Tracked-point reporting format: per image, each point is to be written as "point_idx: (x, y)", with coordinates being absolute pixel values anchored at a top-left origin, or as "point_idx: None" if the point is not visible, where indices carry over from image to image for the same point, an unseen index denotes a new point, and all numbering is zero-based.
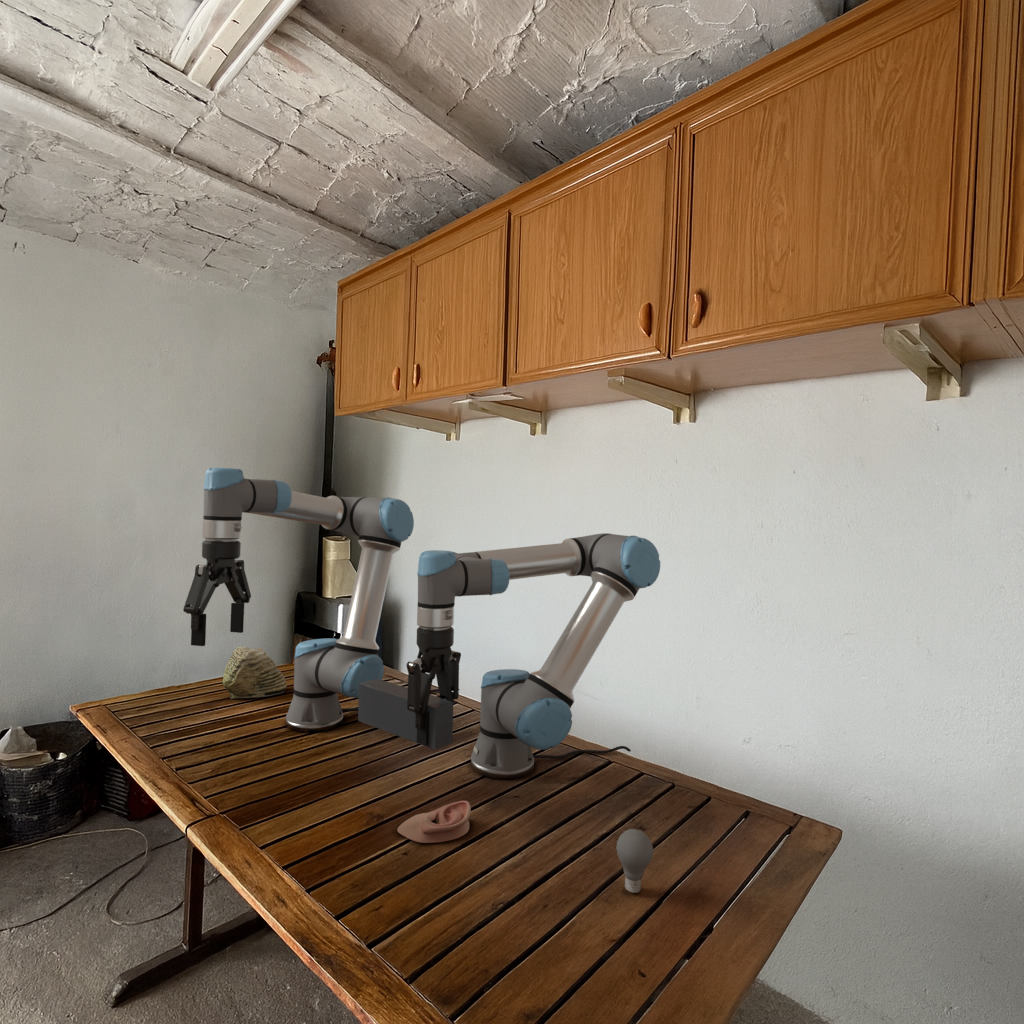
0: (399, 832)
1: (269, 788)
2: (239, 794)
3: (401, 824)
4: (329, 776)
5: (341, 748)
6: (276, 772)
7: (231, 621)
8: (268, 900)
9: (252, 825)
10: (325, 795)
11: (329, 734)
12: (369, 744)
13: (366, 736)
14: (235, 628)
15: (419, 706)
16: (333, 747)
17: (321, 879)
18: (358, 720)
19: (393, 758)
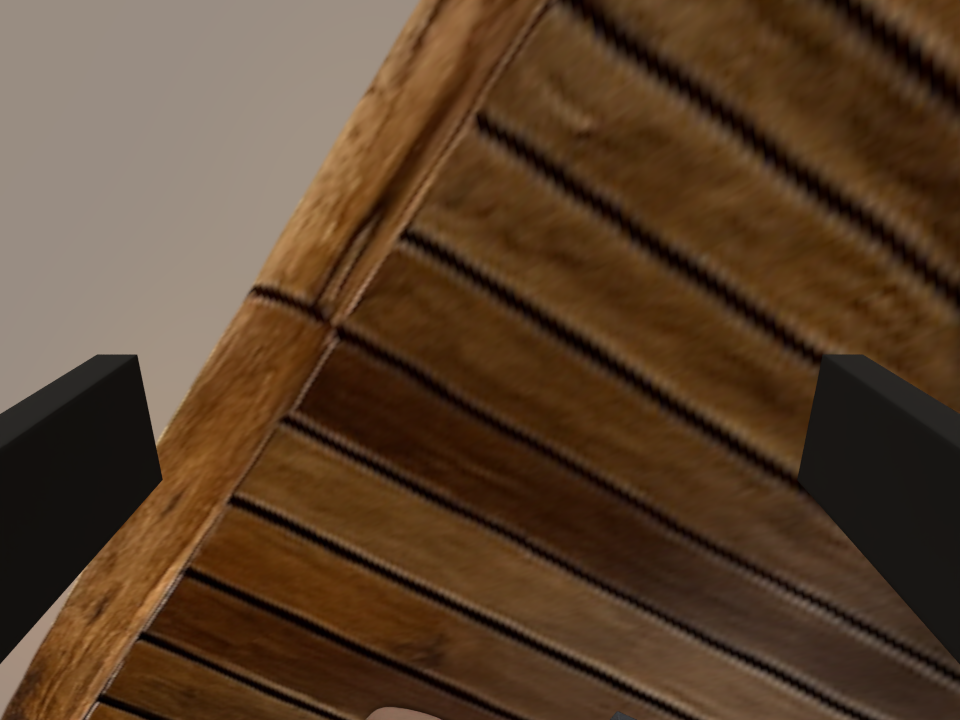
0: (371, 715)
1: (503, 375)
2: (448, 316)
3: (395, 715)
4: (611, 490)
5: None
6: (609, 342)
7: (900, 420)
8: (89, 591)
9: (309, 435)
10: (500, 523)
11: (946, 361)
12: None
13: None
14: (832, 437)
15: None
16: None
17: (181, 642)
18: (616, 714)
19: (756, 597)
